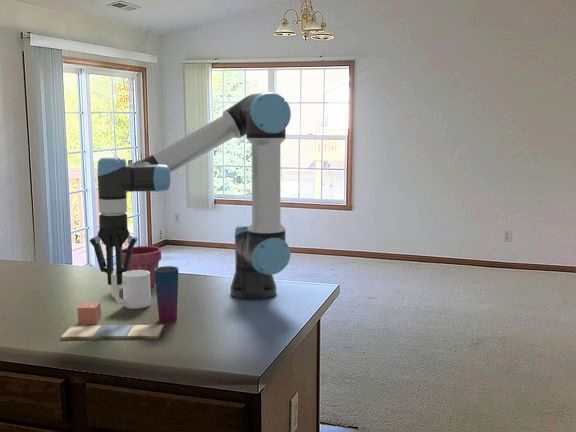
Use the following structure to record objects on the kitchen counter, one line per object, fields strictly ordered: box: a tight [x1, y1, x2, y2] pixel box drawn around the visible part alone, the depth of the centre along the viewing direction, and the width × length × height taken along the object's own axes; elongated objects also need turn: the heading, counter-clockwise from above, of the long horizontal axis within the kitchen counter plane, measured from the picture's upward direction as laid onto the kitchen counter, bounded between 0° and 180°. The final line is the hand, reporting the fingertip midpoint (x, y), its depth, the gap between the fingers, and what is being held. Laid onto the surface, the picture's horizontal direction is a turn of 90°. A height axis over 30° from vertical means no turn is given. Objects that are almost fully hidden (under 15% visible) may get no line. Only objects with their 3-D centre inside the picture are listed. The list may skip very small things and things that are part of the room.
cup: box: [154, 265, 179, 323], centre depth 176 cm, size 7×7×15 cm
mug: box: [114, 270, 152, 310], centre depth 188 cm, size 12×8×10 cm
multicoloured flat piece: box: [59, 324, 165, 341], centre depth 165 cm, size 26×9×1 cm, turn 92°
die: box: [76, 302, 102, 326], centre depth 175 cm, size 5×5×5 cm
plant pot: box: [122, 245, 162, 288], centre depth 212 cm, size 14×14×13 cm
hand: (115, 295), depth 174 cm, fingers closed
